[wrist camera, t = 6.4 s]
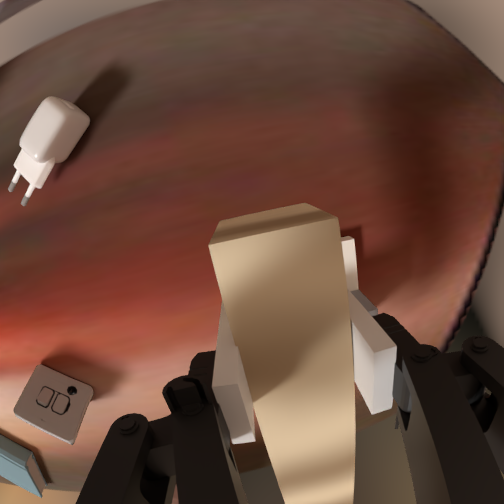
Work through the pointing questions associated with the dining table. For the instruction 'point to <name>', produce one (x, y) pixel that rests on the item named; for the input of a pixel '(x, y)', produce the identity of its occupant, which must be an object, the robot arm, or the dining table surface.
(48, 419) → the electrical switch
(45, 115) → the power adapter
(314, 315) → the beam
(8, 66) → the dining table surface
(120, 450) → the robot arm
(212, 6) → the dining table surface
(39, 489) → the book
